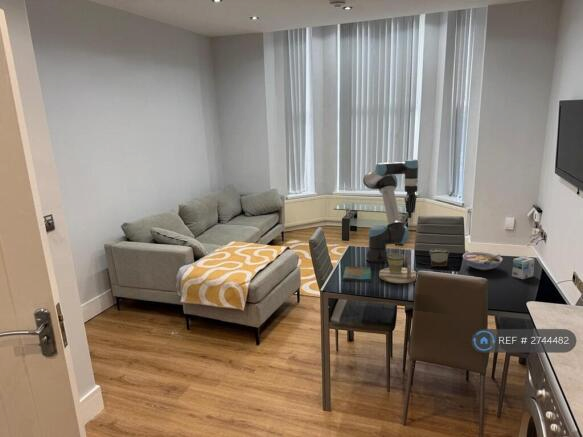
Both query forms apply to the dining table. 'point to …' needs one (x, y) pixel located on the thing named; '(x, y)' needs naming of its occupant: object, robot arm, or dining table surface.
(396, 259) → the ceramic cup
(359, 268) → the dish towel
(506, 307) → the dining table surface
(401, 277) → the turntable
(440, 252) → the food container
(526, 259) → the light bulb box
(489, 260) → the ramen bowl
